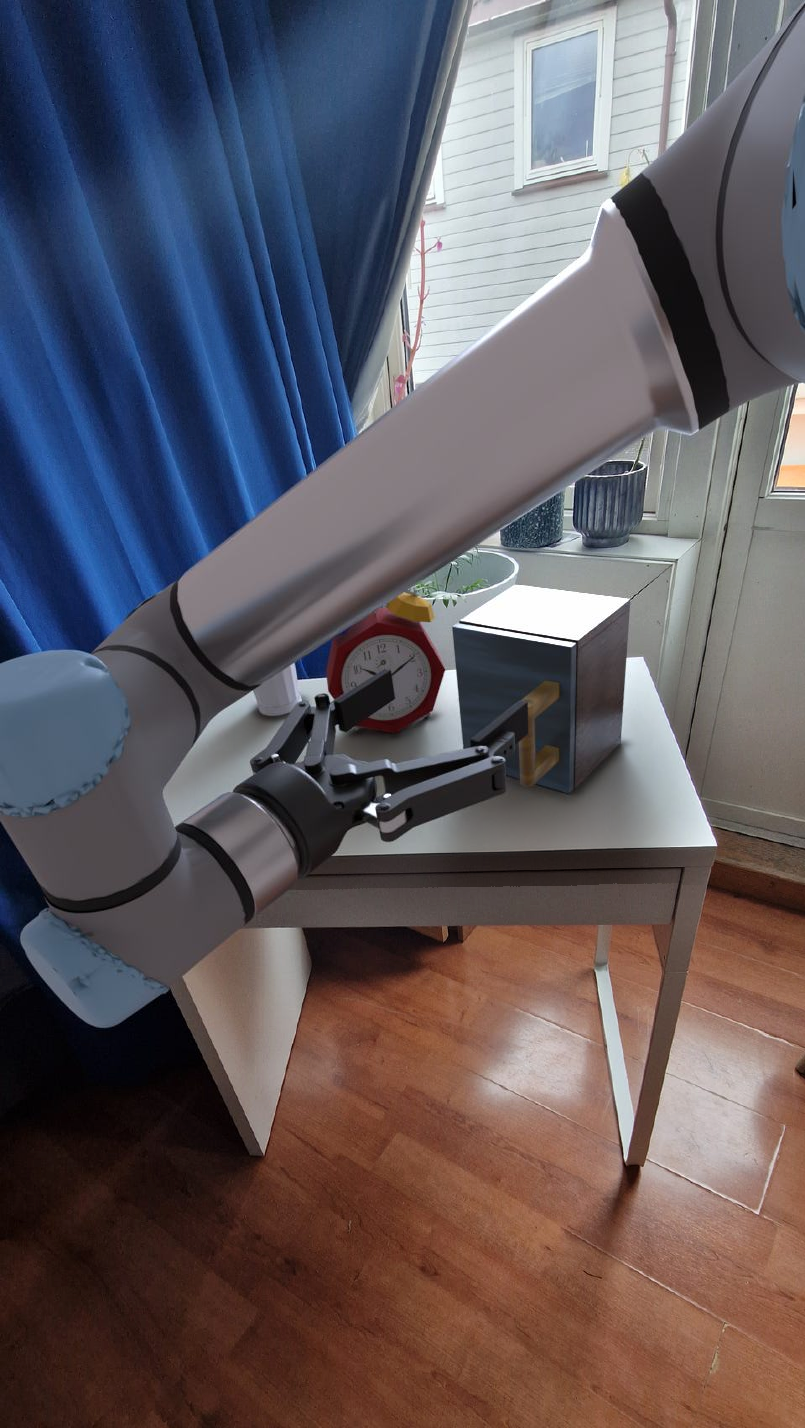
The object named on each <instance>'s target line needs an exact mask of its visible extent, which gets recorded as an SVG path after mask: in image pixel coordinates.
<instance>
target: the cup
mask: <svg viewBox="0 0 805 1428" xmlns="http://www.w3.org/2000/svg"><path fill="white" fill-rule="evenodd" d="M253 695H254V698H255V701H256V703H257V706H258V707H257V708H258V710H259V713H261V714H262V715H264V716H269V717H276V716H277V717H278V716H283V715H287V714H290V712H291V711H292V709H293V708H294V706H295V705H296V704H297V703H298V702H300V701H303V700H302V696H301V691H300V688H299V682H298V676H297V669H296V662H295V663H293V664H292V665H290V666H289V667H287V668H286V669H284V670H282V671H281V672H279V673H278V674H276V675H275V676H273V677H272V678H270V679H268V680H267V681H265V682H264V683H263V684H261V685H260V686H259V687H257V688H256V689H254V690H253Z"/></svg>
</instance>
